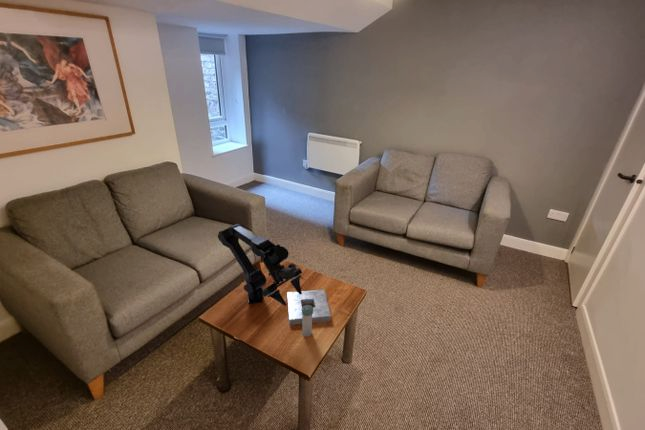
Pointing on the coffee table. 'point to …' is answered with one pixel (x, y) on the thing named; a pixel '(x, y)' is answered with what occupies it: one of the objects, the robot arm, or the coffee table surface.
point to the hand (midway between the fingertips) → (293, 299)
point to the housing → (308, 297)
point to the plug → (307, 320)
